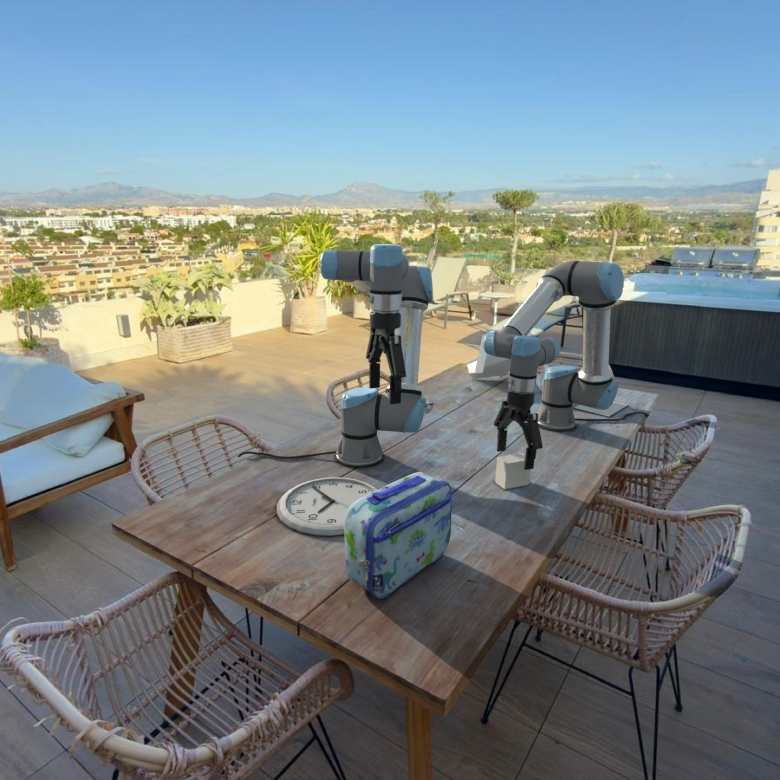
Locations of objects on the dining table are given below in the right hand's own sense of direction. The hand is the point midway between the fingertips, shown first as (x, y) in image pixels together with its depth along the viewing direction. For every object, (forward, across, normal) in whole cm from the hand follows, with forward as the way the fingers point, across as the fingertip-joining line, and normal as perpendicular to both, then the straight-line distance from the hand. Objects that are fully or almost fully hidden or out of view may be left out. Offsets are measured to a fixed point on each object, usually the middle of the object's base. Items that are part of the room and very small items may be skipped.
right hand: (514, 459), depth 154 cm
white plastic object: (+7, -86, +58) cm, 104 cm away
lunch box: (+9, +26, -48) cm, 55 cm away
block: (+8, 0, 0) cm, 8 cm away
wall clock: (+9, -7, -54) cm, 55 cm away
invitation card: (+7, -46, +79) cm, 91 cm away
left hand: (-24, 0, -42) cm, 48 cm away
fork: (+7, -72, +8) cm, 73 cm away
